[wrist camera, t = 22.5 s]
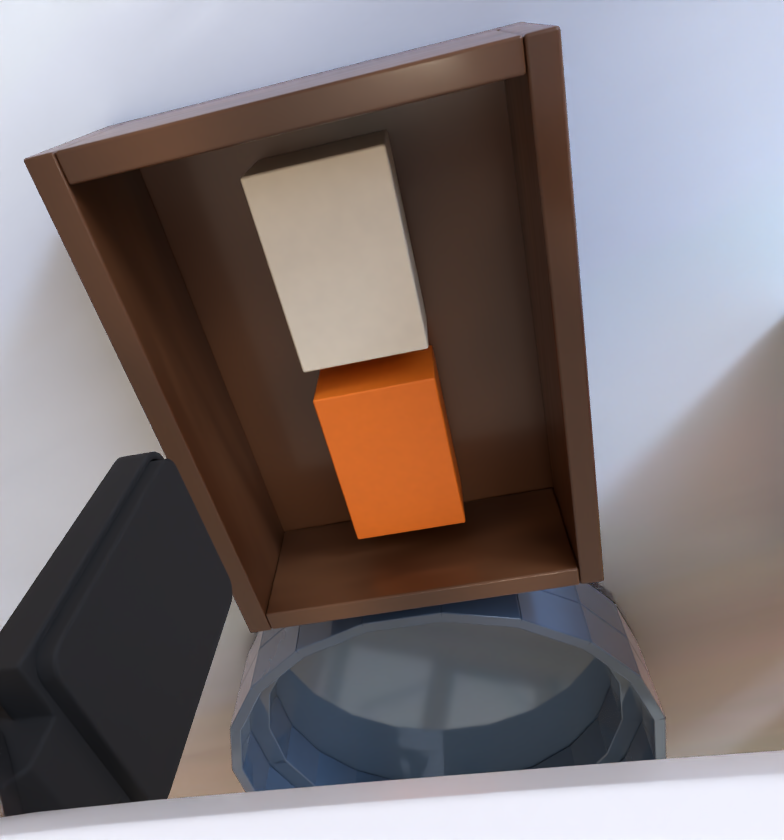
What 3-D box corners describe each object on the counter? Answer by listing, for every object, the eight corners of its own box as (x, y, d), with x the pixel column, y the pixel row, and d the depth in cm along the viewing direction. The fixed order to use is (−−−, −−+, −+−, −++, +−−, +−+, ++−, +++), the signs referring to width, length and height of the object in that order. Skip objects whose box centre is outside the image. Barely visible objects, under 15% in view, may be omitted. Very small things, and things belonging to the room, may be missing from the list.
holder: (522, 21, 19) (561, 24, 14) (571, 486, 27) (604, 582, 23) (107, 126, 20) (21, 159, 16) (274, 535, 29) (250, 633, 24)
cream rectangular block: (387, 129, 19) (385, 143, 17) (426, 317, 22) (429, 349, 20) (256, 160, 20) (238, 177, 18) (312, 340, 23) (303, 373, 21)
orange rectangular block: (432, 343, 23) (434, 377, 21) (461, 481, 26) (466, 523, 24) (320, 365, 23) (311, 401, 21) (361, 498, 27) (357, 540, 24)
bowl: (627, 500, 27) (664, 580, 24) (640, 765, 37) (668, 853, 33) (192, 570, 30) (161, 652, 26) (311, 802, 39) (301, 887, 36)
